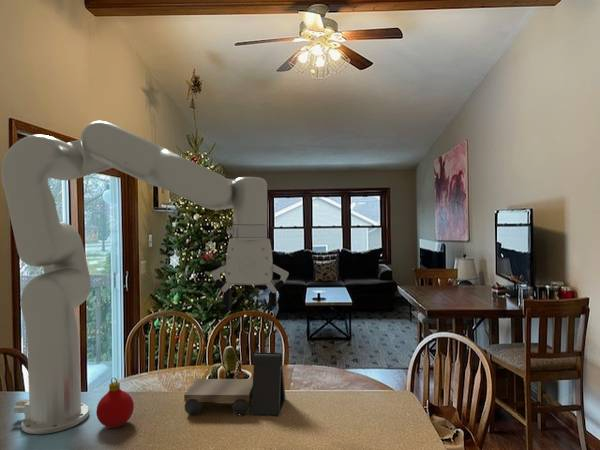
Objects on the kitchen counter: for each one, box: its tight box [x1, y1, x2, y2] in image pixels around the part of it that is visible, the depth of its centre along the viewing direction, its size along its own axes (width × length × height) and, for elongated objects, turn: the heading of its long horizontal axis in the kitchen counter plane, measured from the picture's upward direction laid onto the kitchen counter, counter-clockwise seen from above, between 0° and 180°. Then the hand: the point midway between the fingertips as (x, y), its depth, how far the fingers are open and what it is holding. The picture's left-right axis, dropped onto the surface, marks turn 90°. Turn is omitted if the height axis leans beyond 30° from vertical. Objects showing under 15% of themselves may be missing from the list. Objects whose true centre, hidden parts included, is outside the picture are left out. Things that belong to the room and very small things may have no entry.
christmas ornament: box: [96, 377, 135, 429], centre depth 90 cm, size 7×7×10 cm
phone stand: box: [250, 352, 286, 417], centre depth 97 cm, size 9×6×12 cm, turn 172°
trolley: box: [183, 378, 253, 416], centre depth 98 cm, size 14×9×4 cm, turn 87°
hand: (249, 309), depth 97 cm, fingers open, 9 cm apart
